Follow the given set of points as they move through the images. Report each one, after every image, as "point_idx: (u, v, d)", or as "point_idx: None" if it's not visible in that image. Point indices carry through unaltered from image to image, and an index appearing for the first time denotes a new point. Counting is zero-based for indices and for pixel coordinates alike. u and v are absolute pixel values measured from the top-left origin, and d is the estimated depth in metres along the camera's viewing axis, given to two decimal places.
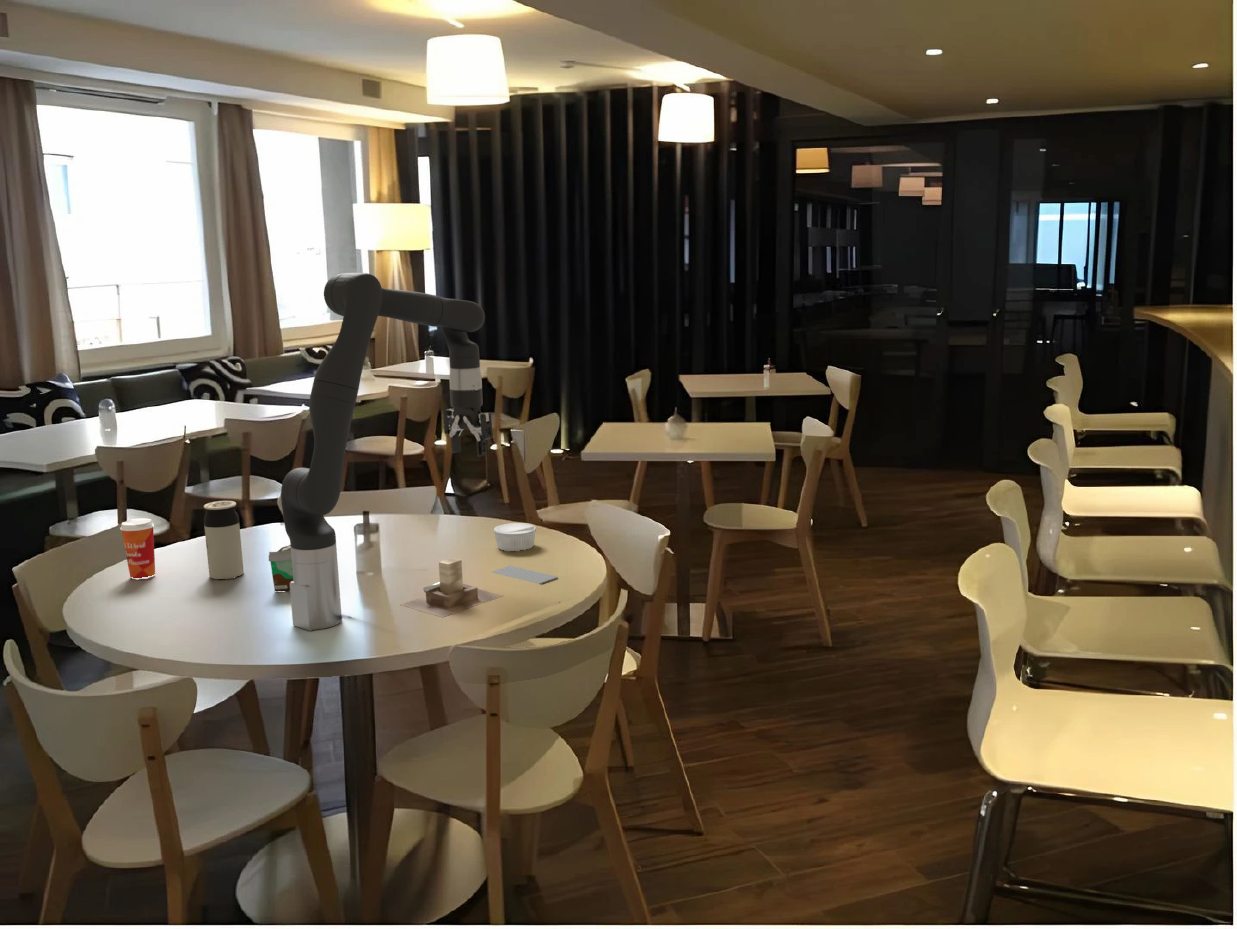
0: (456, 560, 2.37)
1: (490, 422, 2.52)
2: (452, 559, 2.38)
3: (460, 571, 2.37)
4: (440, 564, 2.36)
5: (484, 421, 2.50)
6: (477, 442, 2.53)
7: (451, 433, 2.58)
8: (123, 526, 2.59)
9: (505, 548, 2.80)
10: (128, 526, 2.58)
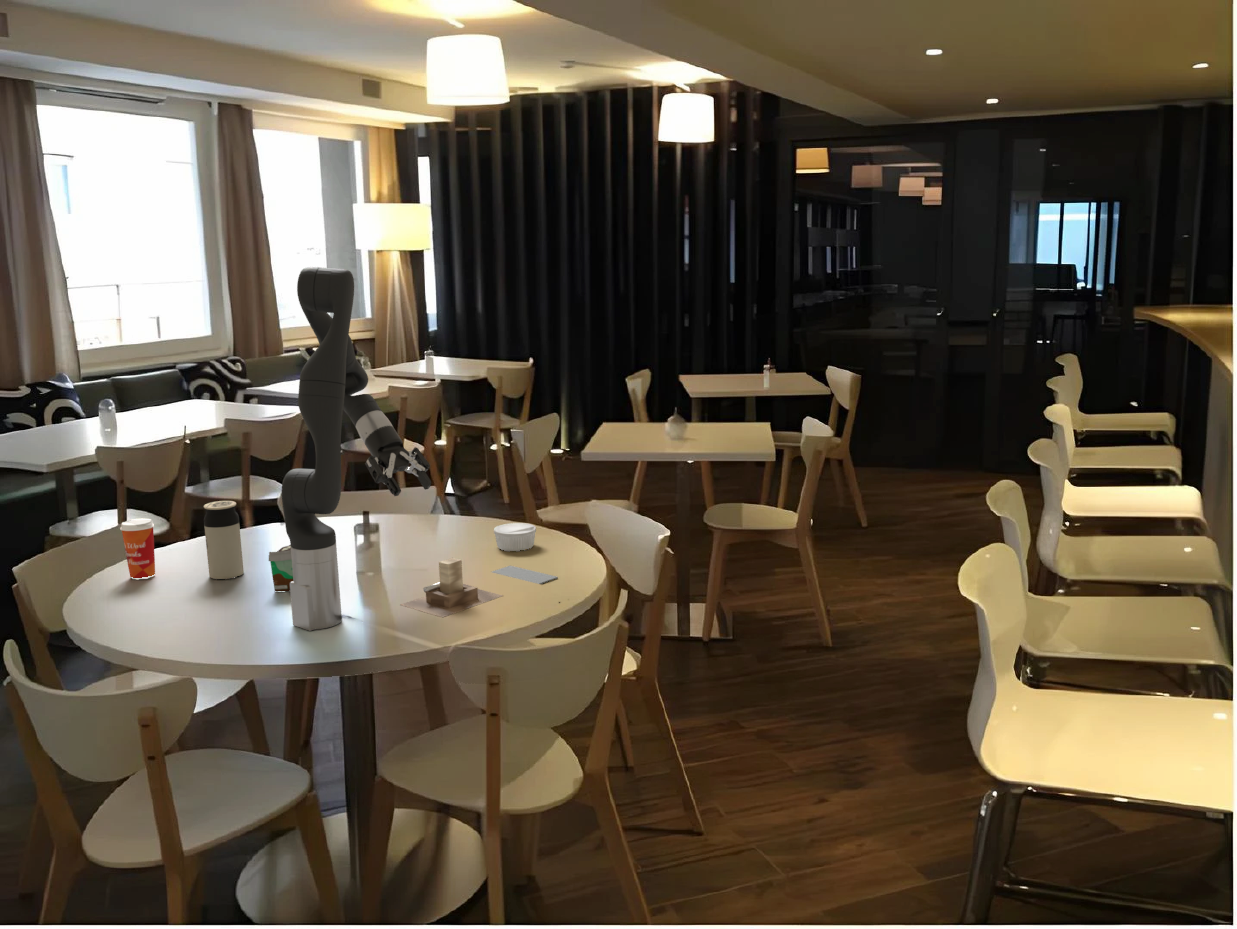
0: (456, 560, 2.37)
1: None
2: (452, 559, 2.38)
3: (460, 571, 2.37)
4: (440, 564, 2.36)
5: None
6: (423, 472, 2.44)
7: (389, 474, 2.38)
8: (123, 526, 2.59)
9: (505, 548, 2.80)
10: (128, 526, 2.58)
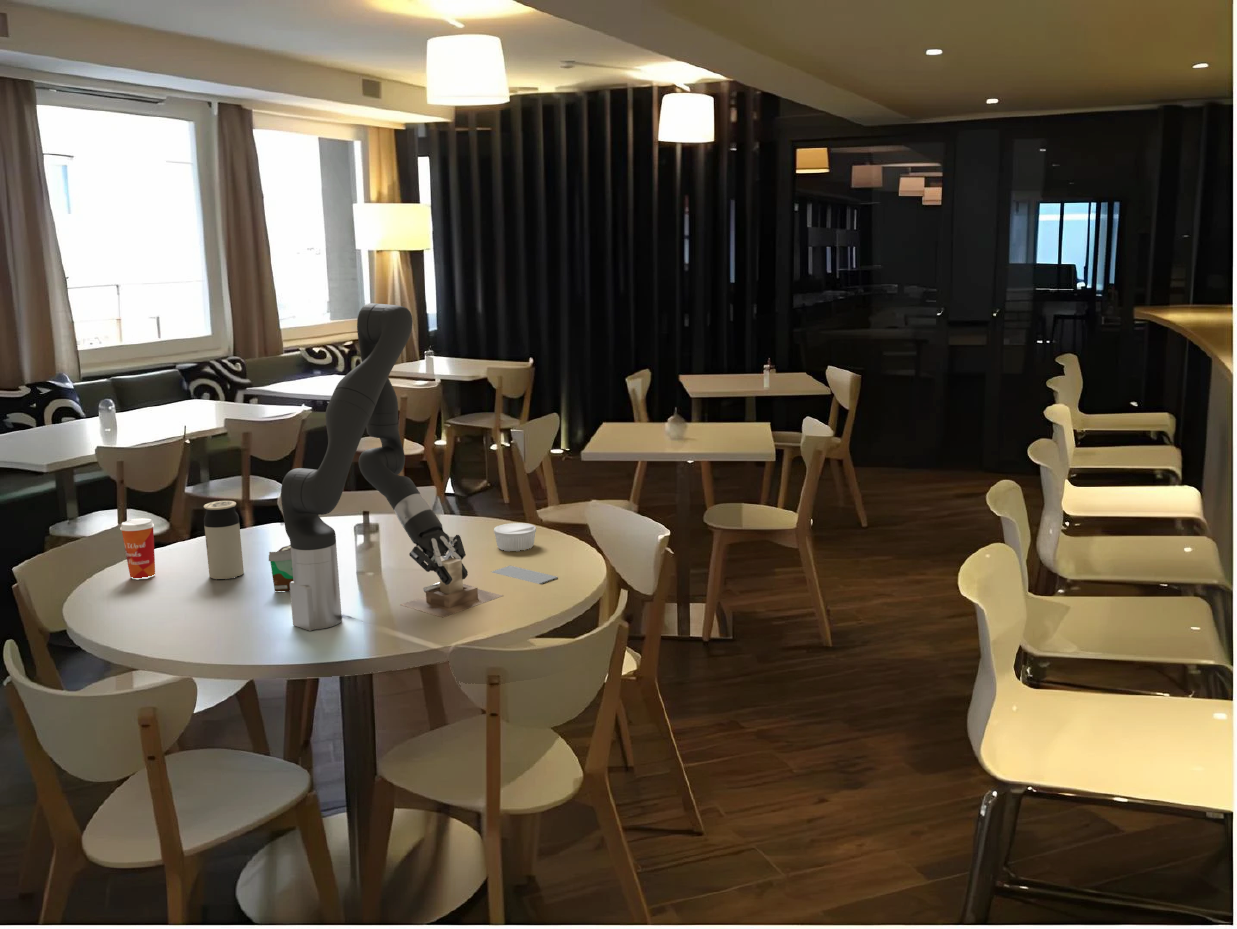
0: (456, 560, 2.37)
1: None
2: (452, 559, 2.38)
3: (460, 571, 2.37)
4: None
5: None
6: None
7: (439, 562, 2.35)
8: (123, 526, 2.59)
9: (505, 548, 2.80)
10: (128, 526, 2.58)
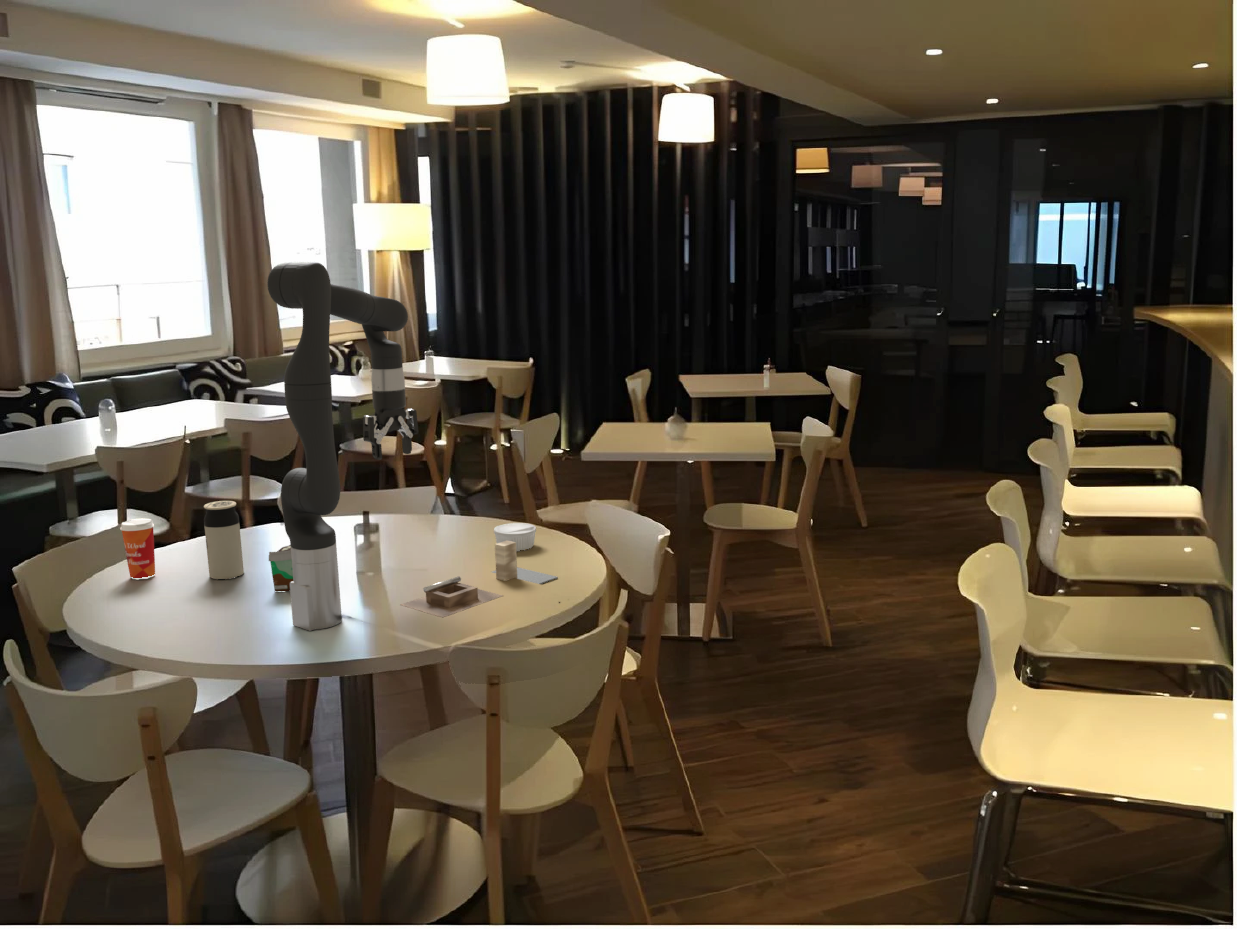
0: (511, 542, 2.53)
1: None
2: (507, 541, 2.54)
3: (514, 553, 2.53)
4: (496, 546, 2.52)
5: None
6: (409, 439, 2.53)
7: (379, 439, 2.47)
8: (123, 526, 2.59)
9: None
10: (128, 526, 2.58)
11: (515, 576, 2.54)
